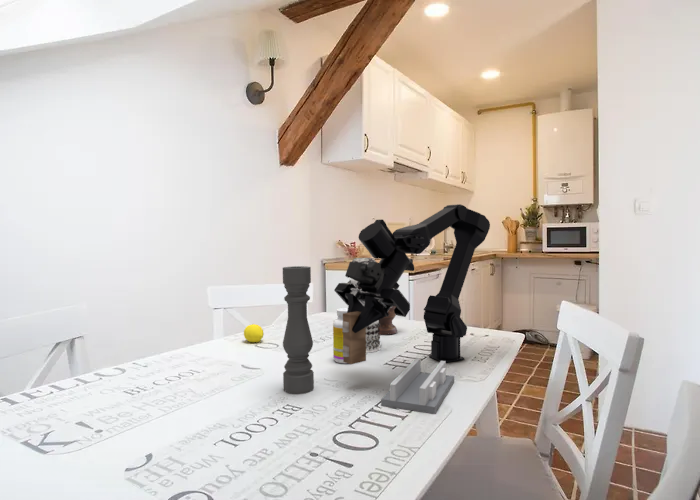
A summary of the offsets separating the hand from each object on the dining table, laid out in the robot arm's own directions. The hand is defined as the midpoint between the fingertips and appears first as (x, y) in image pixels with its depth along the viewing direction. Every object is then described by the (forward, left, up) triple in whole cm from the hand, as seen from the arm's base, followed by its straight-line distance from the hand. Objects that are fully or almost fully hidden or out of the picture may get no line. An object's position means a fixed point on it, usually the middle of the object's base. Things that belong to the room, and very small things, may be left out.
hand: (349, 330), depth 90 cm
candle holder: (+10, -4, -12) cm, 16 cm away
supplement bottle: (-7, -18, -12) cm, 23 cm away
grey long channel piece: (-11, +9, -12) cm, 19 cm away
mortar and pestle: (-29, -40, -12) cm, 51 cm away
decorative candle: (-16, -26, -12) cm, 33 cm away
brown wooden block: (-1, 0, -7) cm, 7 cm away
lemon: (+10, -48, -12) cm, 51 cm away
